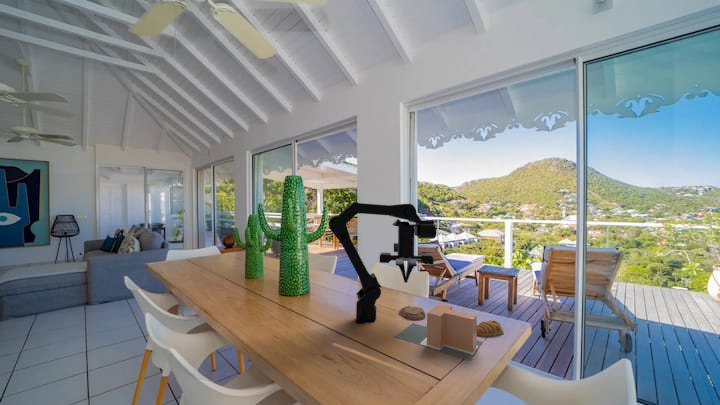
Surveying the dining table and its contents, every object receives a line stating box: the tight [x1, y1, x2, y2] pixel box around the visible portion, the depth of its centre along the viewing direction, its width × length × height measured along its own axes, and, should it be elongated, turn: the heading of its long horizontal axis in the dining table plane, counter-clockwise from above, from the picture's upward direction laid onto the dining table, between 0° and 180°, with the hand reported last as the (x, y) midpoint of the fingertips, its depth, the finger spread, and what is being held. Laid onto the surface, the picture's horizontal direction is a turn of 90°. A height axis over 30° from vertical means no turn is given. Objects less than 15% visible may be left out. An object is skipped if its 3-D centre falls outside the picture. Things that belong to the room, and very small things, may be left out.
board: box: [394, 322, 484, 362], centre depth 87 cm, size 22×13×1 cm, turn 54°
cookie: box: [398, 305, 427, 322], centre depth 106 cm, size 10×11×3 cm
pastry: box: [477, 319, 504, 337], centre depth 92 cm, size 9×7×4 cm
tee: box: [426, 303, 478, 353], centre depth 84 cm, size 12×10×9 cm
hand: (405, 282), depth 104 cm, fingers closed
